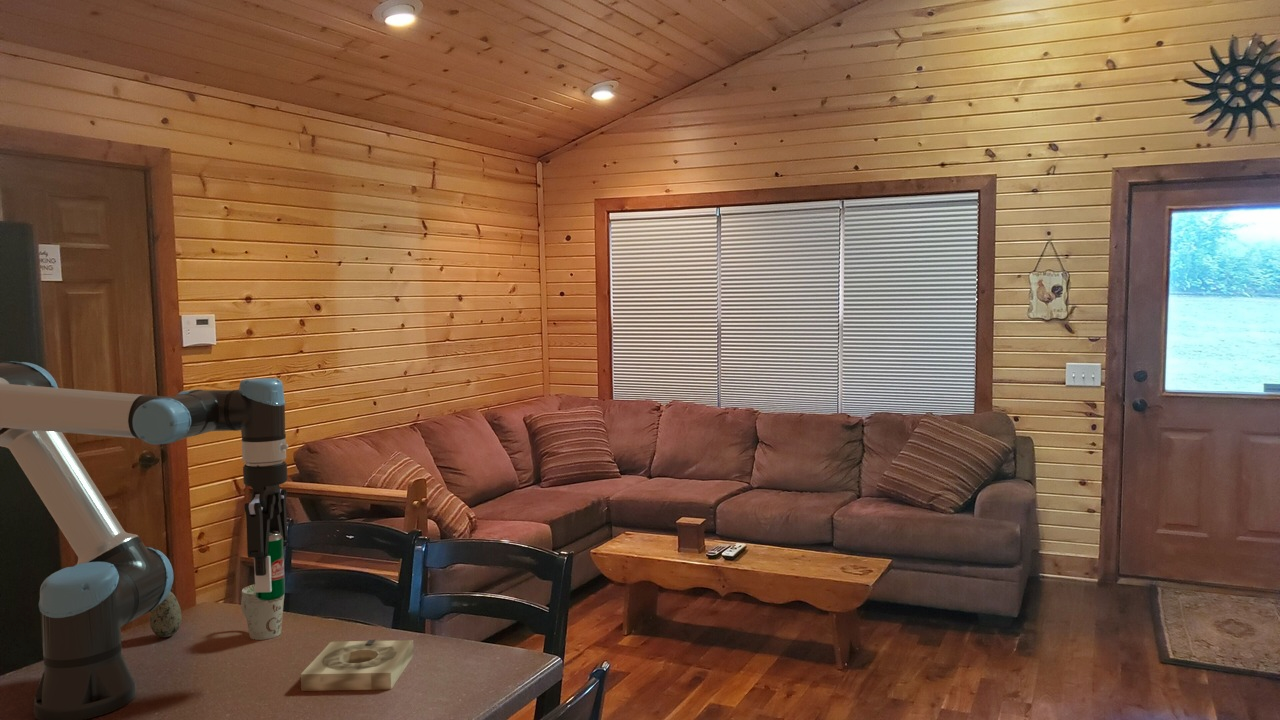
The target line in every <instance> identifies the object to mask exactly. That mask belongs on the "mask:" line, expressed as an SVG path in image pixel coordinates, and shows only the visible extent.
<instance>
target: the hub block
mask: <svg viewBox="0 0 1280 720" xmlns="http://www.w3.org/2000/svg"><path fill="white" fill-rule="evenodd" d="M414 655H415V653H414V640H413V639H407V640H406V639H404V640H399V639H398V640H376V639H368V640H357V641H356V640H349V641H346V640H345V641H330V642H329V643H328V644H327V646H325V647H324V648H323V650H322V651H321V652H320V653H319V654H318V655H317V656H316V657H315V658H314V659H313V661H311V662H310V664H309V665H308V666H306V668H305V669H304V670H303V671H302V672H301V674H300V688H301V691H303V692H306V691H307V692H308V691H311V692H312V691H367V690H369V691H371V690H375V691H377V690H392V689H393V687H394V686H395V684H396V683H397V681H398V679H399V678H400V677H401V676H402V674H403V672H404V671H405V669H406V668H407V666H408V665H409V663H410V661H411V660H412V659H413V657H414ZM301 691H300V692H301Z"/></svg>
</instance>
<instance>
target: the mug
mask: <svg viewBox="0 0 1280 720" xmlns="http://www.w3.org/2000/svg"><path fill="white" fill-rule="evenodd" d="M284 601H285V594H284V595H283V596H282V597H281V598H279V599H275V600H269V601H263V600H259V599H258V598H257V597H256V592H255V583H254V584H251V585H247V586H245V587H243V588H242V590H241V601H240V609H241V611H242V614H243V616H244V617H245V619H246V623H247V629H248V634H249V635H248V636H249V639H252V640H254V639H255V641H263V640H269V639H273V638H276V637H278V636H279V635H281V634H282V633H281V632H282V625H283V615H284V614H283V613H284Z"/></svg>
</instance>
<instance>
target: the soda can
mask: <svg viewBox="0 0 1280 720" xmlns="http://www.w3.org/2000/svg"><path fill="white" fill-rule="evenodd" d="M284 554H285V553H284V547H283V537H282V536H281V532H279V531H269V545H268V556H270V558H271V583H272V591H271V592H256V597H257V598H258V599H259V600H263V601H269V600H275V599H279V598H281V597H282V596H283V595H284V596H285V593H286V583H285V581H286V580H285V579H286V578H285V557H284Z"/></svg>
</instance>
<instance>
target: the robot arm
mask: <svg viewBox="0 0 1280 720" xmlns="http://www.w3.org/2000/svg"><path fill="white" fill-rule="evenodd" d="M284 392H285V391H284V384H283V382H282V380H280V379H279V378H276V377H275V378H274V377H262V378H261V377H259V378H245V379H242V380H241V381H240V382H239V386H238V389H228V390H225V389H221V390H219V389H217V390H216V389H200V388H199V389H197V388H196V389H191V390H183V391H179V392H178V393H177V394H176V395H173V396H164V395H163V396H162V395H161V396H160V395H152V394H150V395H149V394H138V393H136V394H135V393H125V392H114V391H113V392H112V391H102V390H101V391H99V390H88V389H86V390H85V389H76V388H63V387H62V388H61V387H58V384H57V382H56V379H55V378H54V377H53V376H52V374H51V373H50V372H49V371H47V370H46V369H45V368H43V367H41V366H39V365H37V364H36V363H35V364H34V363H31V362H26V361H25V362H24V361H21V362H20V361H15V360H14V361H11V360H10V361H2V362H0V447H2V448H6V449H9V451H10V452H11V454H12V456H13V457H14V459H15V460H16V461H17V463H18V466H19V467H20V468H21V470H22V471H23V474H25V476H26V478H27V479H28V481H29V482H30V484H31V485H32V487H33V488H34V490H35V492H36V493H37V495H38V496H39V498H40V500H41V501H42V503H43V504H44V506H45V507H46V509H47V510H48V512H49V514H50V515H51V517H52V518H53V520H54V522H55V523H56V524H57V526H58V528H59V530H60V531H61V532H62V534H63V536H64V537H65V539H66V541H67V543H69V545H70V547H71V548H72V550H73V551H74V554H75V555H76V556H77V563H76V564H75V565H74V566H67V567H64V568H61V569H59V570H58V571H57V570H56V571H55V572H54V573H51V574H50V575H49V576H47V577H46V578H45V579H44V580H43V582H42V583H41V585H40V587H39V588H40V589H39V601H38V609H39V612H40V625H41V644H42V655H43V657H42V658H43V669H42V672H41V677H40V679H39V683H38V686H37V689H36V693H35V695H34V700H33V713H34V714H33V715H34V718H35V719H37V720H88V719H93V718H95V717H100V716H102V715H106V714H108V713H111V712H114V711H116V710H118V709H121V708H122V707H124V706H126V705H128V704H129V703H131V701H132V700H133V699H134V698H135V696H136V682H135V679H134V676H133V675H132V672H131V670H130V668H129V666H128V665H129V664H128V663H127V662H126V661H127V660H126V659H125V657H124V655H123V651H122V632H121V631H122V627H124V626H126V625H128V624H129V623H131V622H132V621H134V620H136V619H138V618H139V617H141V616H144V615H147V614H149V613H150V611H151V610H153V609H155V608H156V607H157V606H158V605H159V604H161V603H162V602H163V601H164V600H165V599H166V597H167V596H168V595H169V593H170V591H171V590H172V586H173V584H174V569H173V566H172V564H171V562H170V559H169V558H168V557H167V556H166V554H164V553H163V552H162V551H160V550H159V549H154V548H153V547H150V546H146V545H145V544H144V542H143V541H142V539H141V537H140V536H139V535H138V534H134V533H131V532H130V533H129V532H126V531H125V530H124V528H123V527H122V524H121V523H120V521H119V520H118V519H117V517H116V516H115V514H114V513H113V511H112V509H111V507H110V505H109V504H108V502H107V501H106V500H105V498H104V496H103V495H102V493H101V492H100V490H99V488H98V487H97V485H96V484H95V482H94V481H93V479H92V478H91V476H90V474H89V473H88V471H87V469H86V468H85V467H84V464H83V463H82V462H81V460H80V459H79V457H78V455H77V454H76V452H75V451H74V449H73V448H72V446H71V444H70V442H69V441H68V440H67V438H66V436H65V434H66V433H67V434H81V435H92V436H103V437H106V436H107V437H118V438H130V439H140V440H142V441H143V442H145V443H146V444H148V445H150V444H151V445H168V444H172V443H176V442H178V441H182V440H184V439H187V438H191V437H196V436H198V435H199V436H200V435H204V434H206V433H210V432H227V431H229V432H230V431H234V432H236V431H237V432H239V431H240V433H241V459H242V462H243V463H245V464H244V465H243V466H242V474H243V475H242V476H243V481H242V482H243V484H244V485H245V486H247V487H250V488H251V489H252V492H251V493H252V494H251V502H245V503H244V511H245V517H246V539H247V540H246V546H247V549H246V550H247V558H248V559H253V568H254V570H253V571H254V584H255V592H271V591H272V583H271V558H270V556H268V545H269V531H279V532H281V536H282V537H283V548H284V547H285V548H286V547H288V546H289V541H288V538H289V537H288V519H287V518H288V517H287V496H288V495H287V494H288V490H287V489H286V488H281V486H280V485H282V484H285V483H286V482H288V464H287V463H286V459H287V449H289V444H288V443H287V441H286V400H285V393H284ZM64 433H65V434H64ZM171 592H172V591H171Z"/></svg>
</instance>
